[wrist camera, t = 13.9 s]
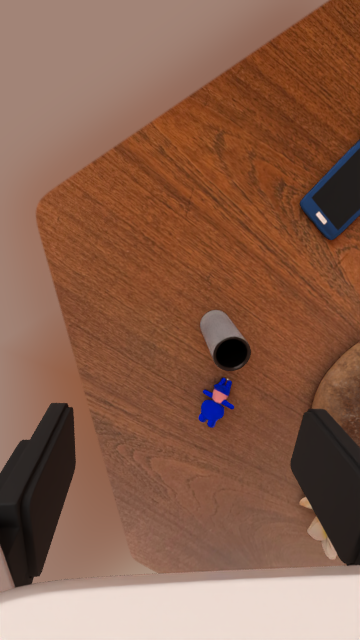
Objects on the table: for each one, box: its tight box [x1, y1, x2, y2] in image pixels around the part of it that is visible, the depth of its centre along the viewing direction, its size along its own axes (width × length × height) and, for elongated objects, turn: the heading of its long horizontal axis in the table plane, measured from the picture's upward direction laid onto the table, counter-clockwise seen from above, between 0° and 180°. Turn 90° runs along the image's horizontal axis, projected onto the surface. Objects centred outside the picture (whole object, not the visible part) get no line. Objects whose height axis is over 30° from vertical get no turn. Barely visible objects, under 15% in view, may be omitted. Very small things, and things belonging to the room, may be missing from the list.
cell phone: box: [300, 139, 360, 240], centre depth 37 cm, size 7×14×1 cm, turn 137°
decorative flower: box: [300, 497, 337, 559], centre depth 52 cm, size 15×11×10 cm
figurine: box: [199, 378, 234, 428], centre depth 44 cm, size 5×8×5 cm, turn 163°
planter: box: [200, 310, 251, 371], centre depth 37 cm, size 4×4×10 cm
